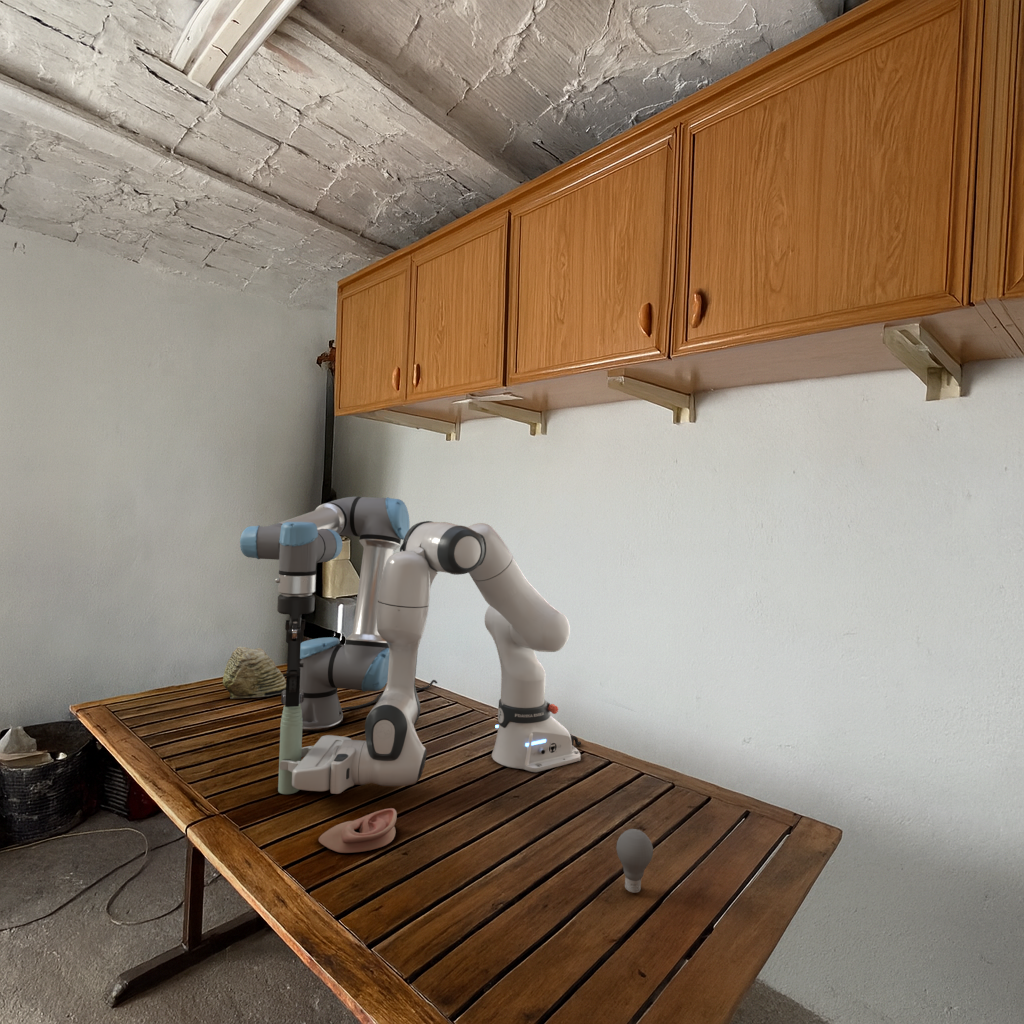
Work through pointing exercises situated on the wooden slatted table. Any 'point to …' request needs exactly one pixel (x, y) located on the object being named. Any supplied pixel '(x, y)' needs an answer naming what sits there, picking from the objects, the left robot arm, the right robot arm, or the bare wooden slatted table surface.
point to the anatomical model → (362, 833)
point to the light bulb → (634, 857)
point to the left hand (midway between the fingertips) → (292, 701)
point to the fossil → (252, 674)
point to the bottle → (290, 745)
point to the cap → (301, 696)
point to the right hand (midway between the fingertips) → (286, 758)
